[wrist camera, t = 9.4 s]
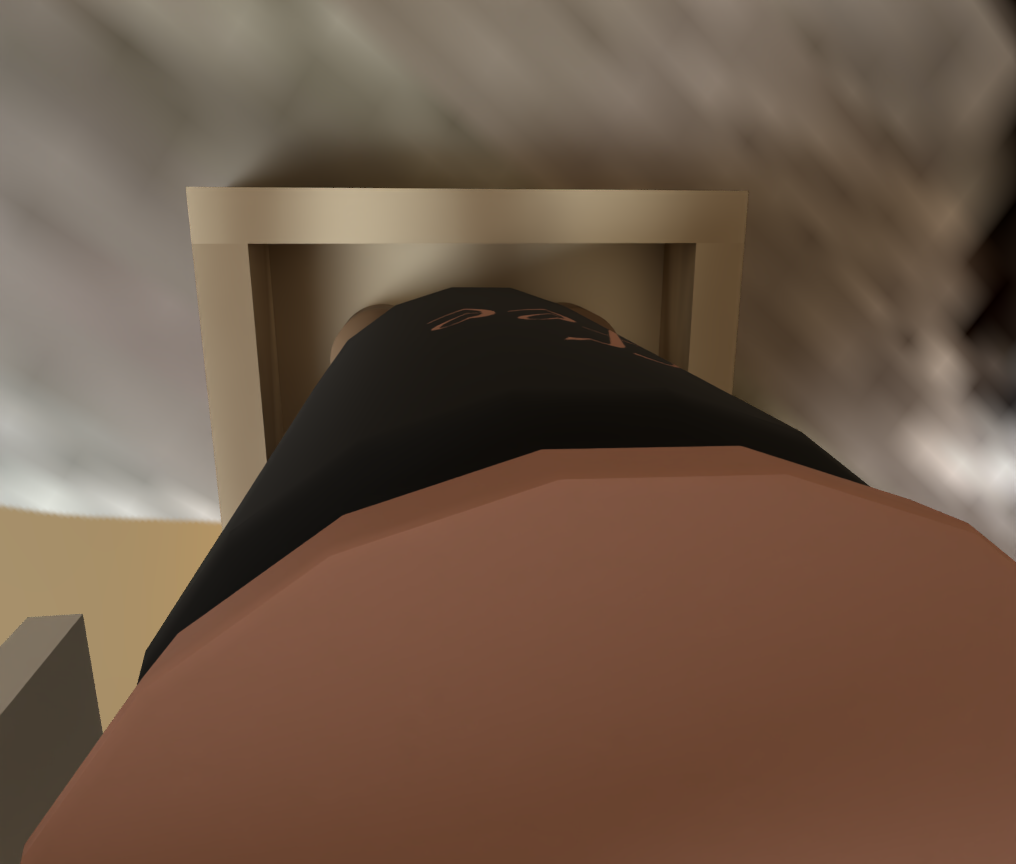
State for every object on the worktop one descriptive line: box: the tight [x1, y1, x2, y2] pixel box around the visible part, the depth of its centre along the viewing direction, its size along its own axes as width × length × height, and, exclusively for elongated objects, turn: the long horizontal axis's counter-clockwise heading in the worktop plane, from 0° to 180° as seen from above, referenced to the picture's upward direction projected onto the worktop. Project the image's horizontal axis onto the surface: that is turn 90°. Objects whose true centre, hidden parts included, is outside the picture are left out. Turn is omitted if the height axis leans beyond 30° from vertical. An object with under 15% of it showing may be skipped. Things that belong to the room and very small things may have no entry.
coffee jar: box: [20, 287, 1016, 864], centre depth 15 cm, size 11×11×18 cm
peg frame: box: [186, 187, 749, 531], centre depth 25 cm, size 16×16×4 cm
